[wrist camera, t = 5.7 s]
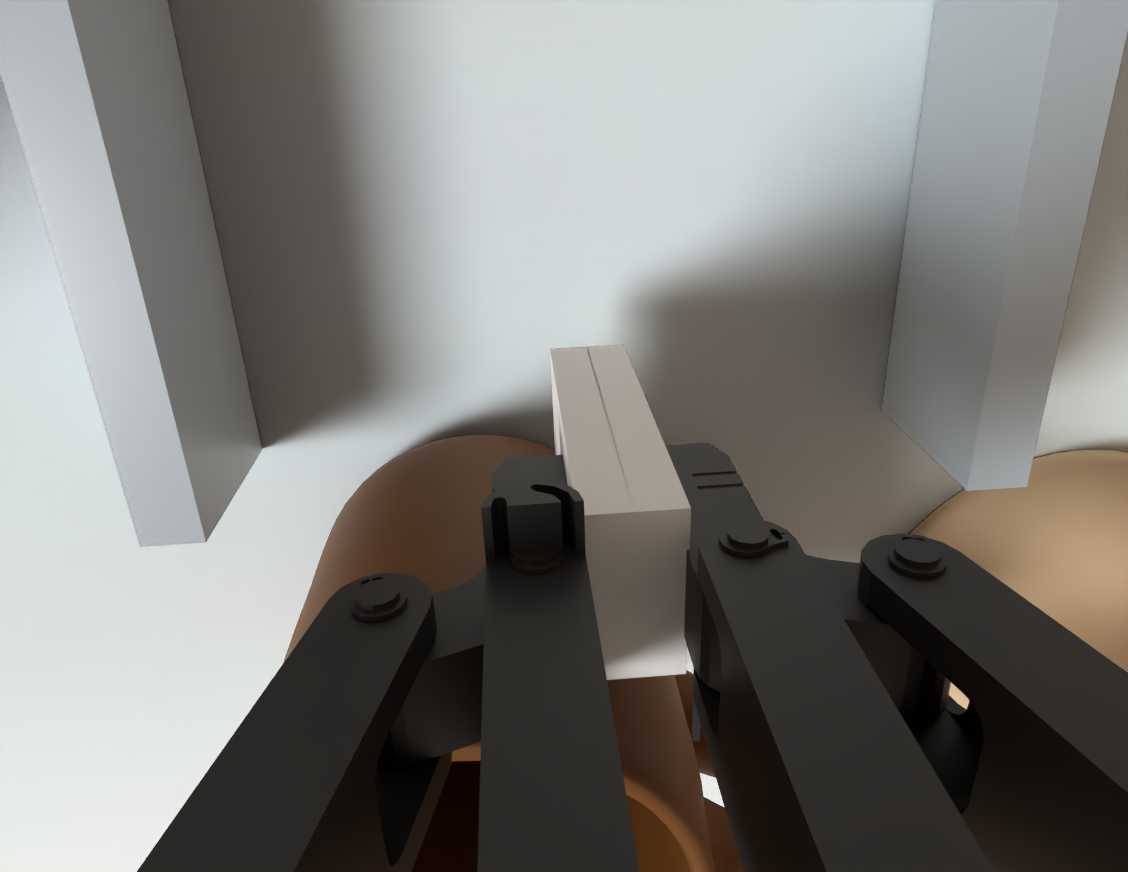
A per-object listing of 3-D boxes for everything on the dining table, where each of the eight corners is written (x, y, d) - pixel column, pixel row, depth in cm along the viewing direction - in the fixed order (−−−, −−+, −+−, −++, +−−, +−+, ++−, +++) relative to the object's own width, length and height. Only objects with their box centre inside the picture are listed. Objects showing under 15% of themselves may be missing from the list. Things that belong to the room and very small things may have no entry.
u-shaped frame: (-53, -634, 12) (-299, -939, 8) (1097, -641, 13) (1339, -921, 9) (208, 453, 19) (140, 546, 15) (930, 407, 20) (1026, 486, 16)
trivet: (884, 462, 20) (898, 477, 20) (1276, 437, 21) (1304, 450, 20) (842, 765, 25) (852, 787, 24) (1169, 739, 25) (1189, 759, 24)
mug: (843, 484, 20) (1084, 805, 12) (743, 714, 24) (879, 1096, 15) (349, 392, 18) (222, 697, 10) (311, 656, 22) (192, 1057, 13)
